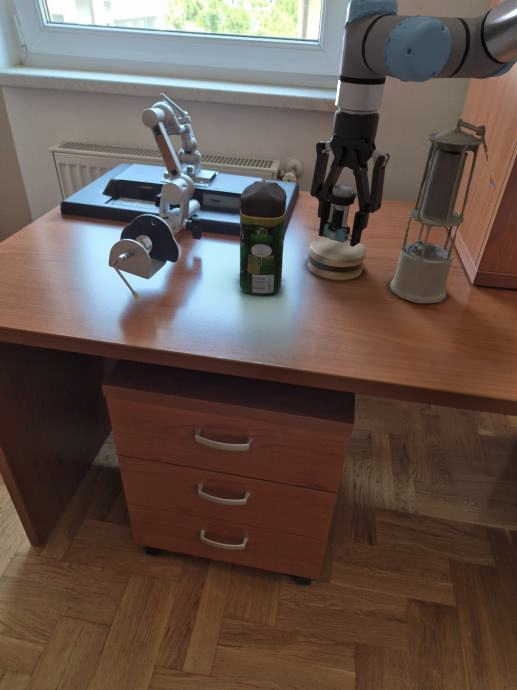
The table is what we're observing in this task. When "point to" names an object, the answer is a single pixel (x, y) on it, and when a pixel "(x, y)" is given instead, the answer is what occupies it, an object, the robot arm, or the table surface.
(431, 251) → the lamp
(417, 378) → the table surface
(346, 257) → the wooden yo-yo
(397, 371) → the table surface
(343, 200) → the push button
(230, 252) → the table surface
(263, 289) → the coffee jar
